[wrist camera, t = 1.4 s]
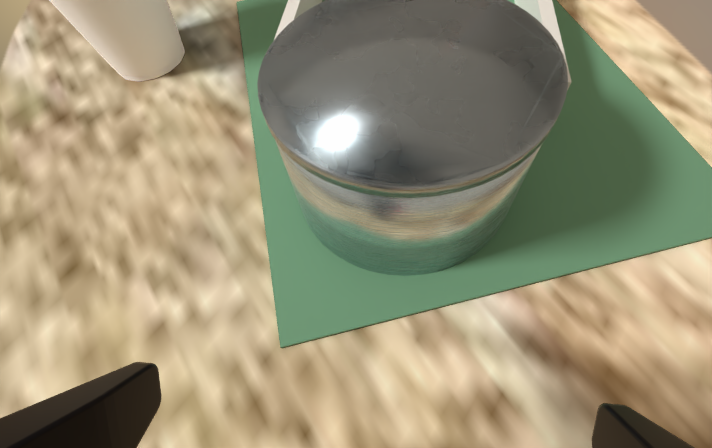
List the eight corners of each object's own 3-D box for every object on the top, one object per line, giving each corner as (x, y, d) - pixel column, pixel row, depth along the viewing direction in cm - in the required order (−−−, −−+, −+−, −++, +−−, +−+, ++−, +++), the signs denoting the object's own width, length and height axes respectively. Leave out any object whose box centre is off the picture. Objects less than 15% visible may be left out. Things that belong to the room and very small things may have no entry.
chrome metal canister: (553, 244, 22) (638, 137, 15) (317, 303, 22) (276, 224, 14) (463, 87, 30) (489, -40, 22) (284, 128, 29) (245, 11, 21)
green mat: (760, 225, 22) (763, 223, 22) (281, 348, 21) (280, 347, 21) (504, -53, 40) (505, -55, 40) (237, 3, 39) (236, 2, 38)
